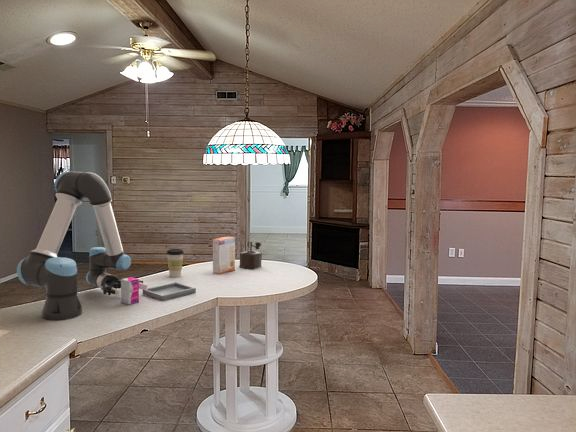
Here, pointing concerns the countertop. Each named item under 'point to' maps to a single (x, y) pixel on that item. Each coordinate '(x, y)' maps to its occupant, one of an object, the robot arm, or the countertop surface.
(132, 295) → the supplement box
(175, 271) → the coffee cup
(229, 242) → the cracker box
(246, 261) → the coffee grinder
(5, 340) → the countertop surface
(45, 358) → the countertop surface
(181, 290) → the tray
